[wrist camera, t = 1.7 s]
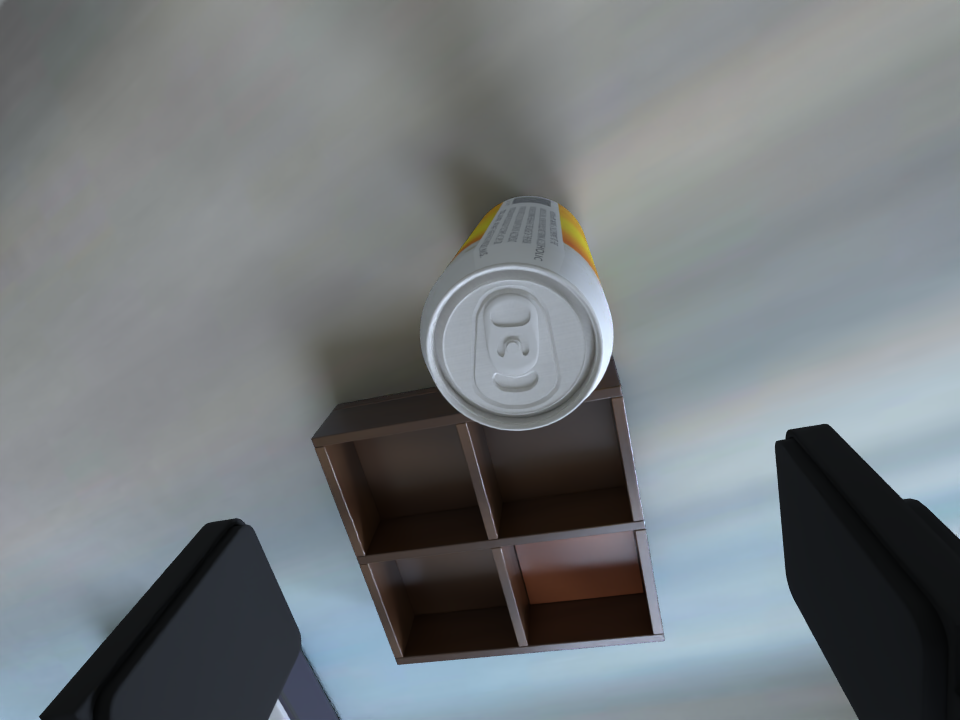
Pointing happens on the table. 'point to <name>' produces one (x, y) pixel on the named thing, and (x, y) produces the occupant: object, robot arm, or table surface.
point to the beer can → (518, 319)
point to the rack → (493, 526)
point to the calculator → (302, 696)
